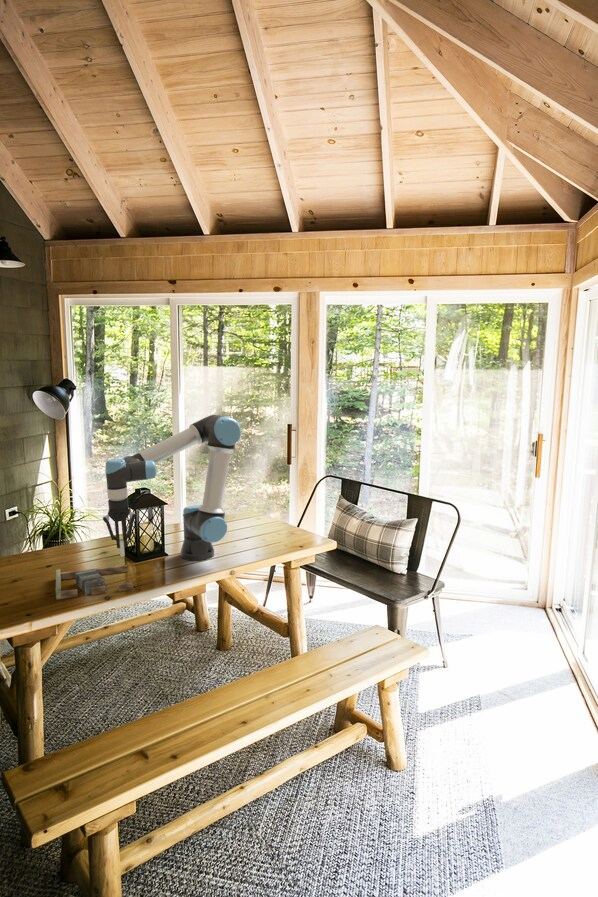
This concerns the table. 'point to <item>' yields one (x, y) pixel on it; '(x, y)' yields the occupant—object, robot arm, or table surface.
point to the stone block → (89, 580)
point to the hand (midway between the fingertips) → (122, 555)
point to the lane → (94, 590)
